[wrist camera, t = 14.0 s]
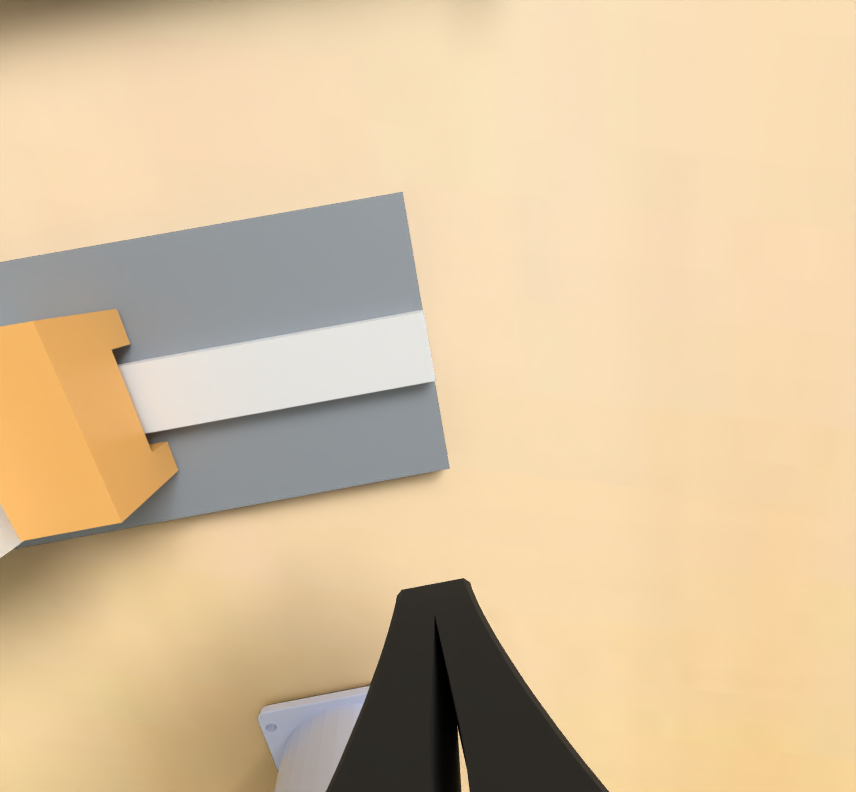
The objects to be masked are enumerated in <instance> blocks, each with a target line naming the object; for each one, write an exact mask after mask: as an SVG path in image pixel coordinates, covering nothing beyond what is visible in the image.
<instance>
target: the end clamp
mask: <svg viewBox="0 0 856 792" xmlns="http://www.w3.org/2000/svg"><path fill="white" fill-rule="evenodd" d="M129 344H130V342H129V339H128V337H127V334H126V331H125V329H124V326H123V323H122V321H121V318H120V316H119V313H118V310H117V309H112V310H105V311H98V312H91V313H84V314H77V315H70V316H63V317H57V318H50V319H43V320H36V321H30V322H24V323H18V324H13V325H7V326H1V327H0V504H1V506H2V507H3V509H4V511H5V513H6V515H7V517H8V519H9V521H10V522H11V524H12V526H13V528H14V530H15V532H16V534H17V536H18V538H19V539H20V541H25V540H30V539H36V538H41V537H46V536H52V535H57V534H63V533H68V532H74V531H79V530H84V529H90V528H95V527H101V526H106V525H112V524H117V523H122V522H123V521H124V520H125V519H126V518H127V517H128V516H130V515H131V514H132V513H133V512H134V511H135V510H136V509H137V508H138V507H139V506H140V505H141V504H143V503H144V502H145V501H146V500H147V499H148V498H149V497H150V496H151V495H152V494H153V493H154V492H156V491H157V490H158V489H159V488H160V487H161V486H162V485H163V484H164V483H165V482H166V481H168V480H169V479H170V478H171V477H172V476H173V475H174V474H175V473H176V472H177V471H178V468H177V465H176V463H175V460H174V457H173V455H172V452H171V450H170V447H169V444H168V442H167V441H165V442H159V443H154V444H149V443H148V441H147V438H146V436H145V433H144V431H143V428H142V426H141V423H140V421H139V418H138V415H137V413H136V410H135V408H134V405H133V403H132V400H131V398H130V395H129V393H128V390H127V388H126V385H125V383H124V380H123V378H122V375H121V372H120V370H119V367H118V365H117V362H116V360H115V357H114V355H113V352H112V349H115V348H119V347H122V346H126V345H129Z"/></svg>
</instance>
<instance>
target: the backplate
mask: <svg viewBox="0 0 856 792" xmlns="http://www.w3.org/2000/svg"><path fill="white" fill-rule="evenodd" d="M112 309H117V310H118V313H119V316H120V318H121V321H122V323H123V326H124V329H125V331H126V334H127V337H128V339H129V342H130V344H129V345H126V346H122V347H119V348H115V349H112V352H113V355H114V357H115V360H116V362H117V365H118V367H119V370H120V372H121V375H122V378H123V380H124V383H125V385H126V388H127V390H128V393H129V395H130V398H131V400H132V403H133V405H134V408H135V410H136V413H137V415H138V418H139V421H140V423H141V426H142V428H143V431H144V433H145V436H146V438H147V441H148V443H149V444H154V443H159V442H165V441H167V442H168V444H169V447H170V450H171V452H172V455H173V457H174V460H175V463H176V465H177V468H178V471H177V472H176V473H175V474H174V475H173V476H172V477H171V478H170V479H169V480H168V481H166V482H165V483H164V484H163V485H162V486H161V487H160V488H159V489H158V490H157V491H156V492H154V493H153V494H152V495H151V496H150V497H149V498H148V499H147V500H146V501H145V502H144V503H143V504H141V505H140V506H139V507H138V508H137V509H136V510H135V511H134V512H133V513H132V514H131V515H130V516H128V517H127V518H126V519H125V520H124V521H123V522H122V523H117V524H112V525H106V526H101V527H95V528H90V529H84V530H79V531H74V532H68V533H63V534H57V535H52V536H46V537H41V538H36V539H30V540H25V541H23V542H22V543H20V544H19V545H18V546H16V547H15V548H14V549H17V548H22V547H28V546H33V545H38V544H44V543H49V542H55V541H60V540H65V539H71V538H76V537H82V536H87V535H93V534H98V533H103V532H109V531H114V530H120V529H125V528H130V527H136V526H141V525H147V524H152V523H157V522H163V521H168V520H174V519H179V518H185V517H190V516H195V515H201V514H206V513H212V512H217V511H222V510H228V509H233V508H239V507H244V506H250V505H255V504H260V503H266V502H271V501H277V500H282V499H287V498H293V497H298V496H304V495H309V494H314V493H320V492H325V491H331V490H336V489H342V488H347V487H352V486H358V485H363V484H369V483H374V482H379V481H385V480H390V479H396V478H401V477H407V476H412V475H417V474H423V473H428V472H434V471H439V470H444V469H450V468H449V462H448V456H447V450H446V444H445V439H444V433H443V427H442V421H441V415H440V409H439V403H438V397H437V392H436V386H435V375H434V369H433V363H432V357H431V351H430V346H429V340H428V334H427V328H426V322H425V316H424V312H423V309H422V304H421V298H420V292H419V286H418V280H417V274H416V268H415V263H414V257H413V251H412V245H411V239H410V233H409V227H408V221H407V216H406V210H405V204H404V198H403V192H399V193H393V194H388V195H382V196H376V197H370V198H365V199H359V200H353V201H347V202H342V203H336V204H330V205H325V206H319V207H313V208H307V209H302V210H296V211H290V212H284V213H279V214H273V215H267V216H262V217H256V218H250V219H244V220H239V221H233V222H227V223H221V224H216V225H210V226H204V227H199V228H193V229H187V230H181V231H176V232H170V233H164V234H158V235H153V236H147V237H141V238H136V239H130V240H124V241H118V242H113V243H107V244H101V245H95V246H90V247H84V248H78V249H73V250H67V251H61V252H55V253H50V254H44V255H38V256H32V257H27V258H21V259H15V260H10V261H4V262H0V327H1V326H7V325H13V324H18V323H24V322H30V321H36V320H43V319H50V318H57V317H63V316H70V315H77V314H84V313H91V312H98V311H105V310H112Z"/></svg>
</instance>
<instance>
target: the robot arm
mask: <svg viewBox="0 0 856 792" xmlns="http://www.w3.org/2000/svg"><path fill="white" fill-rule="evenodd" d="M258 722H259V724H260V727H261V729H262V732H263V735H264V737H265V740H266V742H267V745H268V747H269V750H270V752H271V755H272V757H273V760H274V762H275V765H276V767H277V770H278V772H279V773H278V777H277V782H276V786H275V790H274V792H461V778H460V761H459V745H458V730H459V735H460V739H461V744H462V749H463V753H464V758H465V762H466V767H467V773H468V781H469V788H470V792H609V791H608V790H607V789H606V788H605V786H604V785H603V784H602V783H601V781H600V780H599V779H598V778H597V777H596V775H595V774H594V773H593V772H592V770H591V769H590V768H589V767H588V766H587V764H586V763H585V762H584V761H583V759H582V758H581V757H580V756H579V754H578V753H577V752H576V750H575V749H574V748H573V747H572V745H571V744H570V743H569V741H568V740H567V739H566V738H565V736H564V735H563V734H562V732H561V731H560V730H559V728H558V727H557V726H556V724H555V723H554V722H553V720H552V719H551V717H550V716H549V715H548V713H547V712H546V711H545V709H544V708H543V707H542V705H541V704H540V702H539V701H538V700H537V698H536V697H535V695H534V694H533V693H532V691H531V690H530V688H529V687H528V685H527V684H526V682H525V681H524V680H523V678H522V676H521V675H520V673H519V672H518V670H517V669H516V667H515V666H514V664H513V663H512V661H511V660H510V658H509V656H508V655H507V653H506V652H505V650H504V649H503V647H502V645H501V644H500V642H499V641H498V639H497V637H496V636H495V634H494V632H493V630H492V628H491V627H490V625H489V623H488V621H487V619H486V618H485V616H484V614H483V612H482V610H481V608H480V606H479V604H478V602H477V600H476V597H475V595H474V593H473V590H472V587H471V584H470V582H469V581H467V580H465V579H464V578H462V579H457V580H452V581H446V582H441V583H436V584H431V585H425V586H420V587H415V588H409V589H404V590H401V592H400V593H399V594H398V595H397V599H396V604H395V608H394V612H393V616H392V620H391V624H390V627H389V631H388V634H387V637H386V641H385V644H384V647H383V650H382V653H381V656H380V659H379V662H378V665H377V667H376V670H375V673H374V676H373V679H372V681H371V684H370V686H366V687H361V688H355V689H350V690H345V691H340V692H335V693H329V694H324V695H319V696H314V697H308V698H303V699H298V700H293V701H288V702H282V703H277V704H272V705H267V706H265V707H263V708H262V709H261V711H260V713H259V716H258ZM457 726H458V728H457Z"/></svg>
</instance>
